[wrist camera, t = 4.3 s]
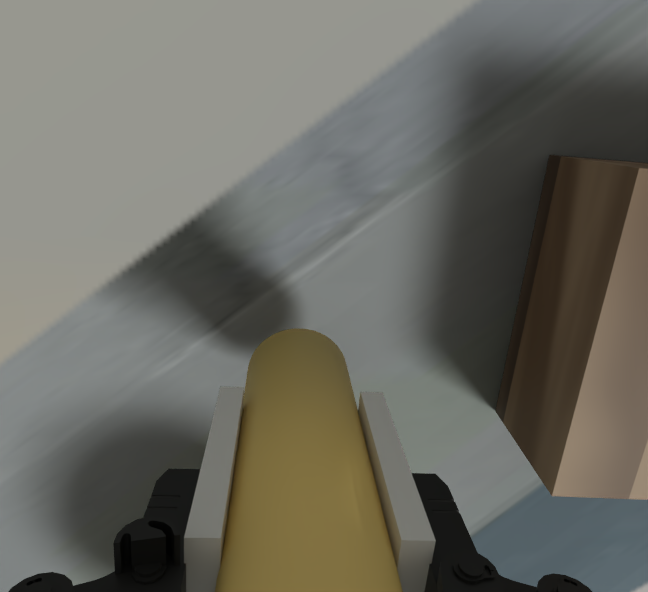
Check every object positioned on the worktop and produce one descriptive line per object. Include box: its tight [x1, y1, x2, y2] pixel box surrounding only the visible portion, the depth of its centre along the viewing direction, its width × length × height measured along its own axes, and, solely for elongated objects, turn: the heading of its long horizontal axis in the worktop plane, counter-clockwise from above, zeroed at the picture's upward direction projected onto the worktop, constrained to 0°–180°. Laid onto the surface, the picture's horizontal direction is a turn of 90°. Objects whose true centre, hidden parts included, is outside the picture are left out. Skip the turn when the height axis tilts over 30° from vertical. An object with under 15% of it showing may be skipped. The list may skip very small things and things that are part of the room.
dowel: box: [215, 329, 403, 592], centre depth 15 cm, size 4×4×14 cm
